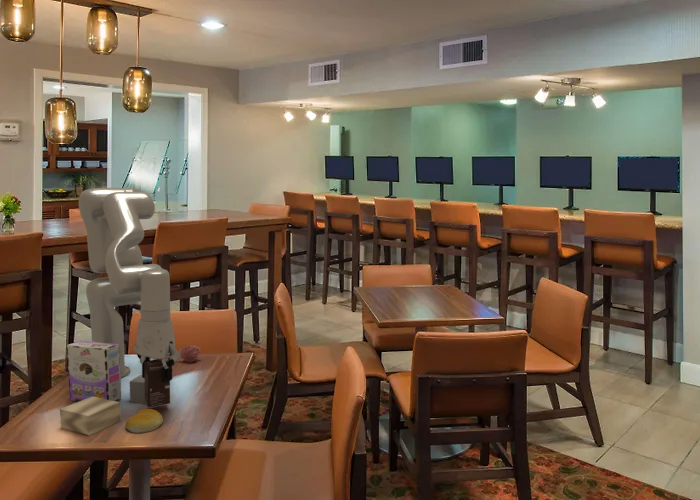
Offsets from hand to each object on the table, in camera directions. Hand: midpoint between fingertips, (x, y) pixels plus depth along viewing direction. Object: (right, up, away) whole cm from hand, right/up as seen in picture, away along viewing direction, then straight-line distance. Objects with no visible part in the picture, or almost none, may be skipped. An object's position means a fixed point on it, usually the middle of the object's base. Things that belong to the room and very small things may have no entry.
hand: (157, 378), depth 164 cm
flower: (-3, -4, +44) cm, 44 cm away
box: (0, -7, +1) cm, 7 cm away
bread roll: (0, -10, -10) cm, 14 cm away
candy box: (-20, -8, +8) cm, 23 cm away
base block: (-14, -10, -9) cm, 19 cm away
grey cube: (-6, -8, +9) cm, 14 cm away
